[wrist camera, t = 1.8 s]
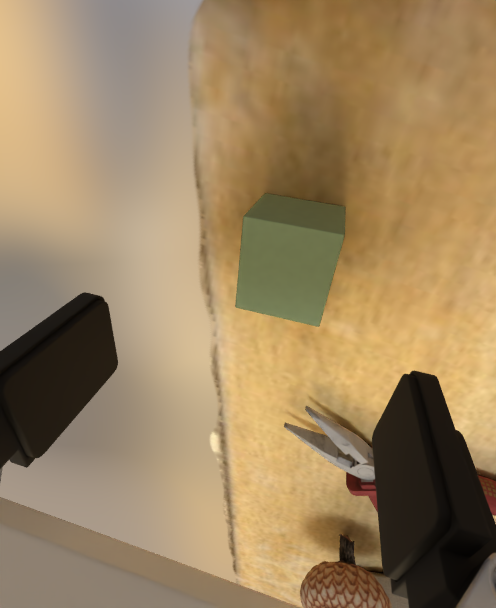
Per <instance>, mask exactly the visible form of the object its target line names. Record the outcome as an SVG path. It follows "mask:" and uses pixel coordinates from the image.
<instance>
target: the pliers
mask: <svg viewBox="0 0 496 608" xmlns="http://www.w3.org/2000/svg"><path fill="white" fill-rule="evenodd" d="M305 410H306V411H307V412H308V413H309V415H310V416H311V417H312V418H313V419H314V420H315V422H316V423H317V424H318V425H319V426H320V427H321V429H322V430H323V431H324V432H325V433H326V434H327V436H328V437H327V436H325V435H322V434H319V433H316V432H313V431H310V430H307V429H304V428H300V427H297V426H294V425H291V424H288V423H285V424H284V427H285V428H286V429H288V430H289V431H290V432H291V433H293V434H294V435H295V436H297V437H298V438H299V439H300V440H302V441H303V442H304V443H306V444H307V445H308V446H310V447H311V448H312V449H313V450H315V451H316V452H317V453H319V454H320V455H321V456H322V457H324V458H325V459H326V460H328V461H329V462H330V463H332V464H334V465H335V466H337V467H338V468H340V469H342V470H344V471H346V485H347V487H348V489H349V491H350V492H351V494H353V495H355V496H369V498H370V500H371V501H372V503H373V505H374V507H375V508H376V510H377V512H378V508H377V496H376V484H375V473H374V461H373V449H372V448H371V447H370V446H369V445H368V444H367V443H366V442H365V441H364V440H362V439H361V438H360V437H359V436H357V435H356V434H355V433H353V432H351V431H349V430H348V429H346V428H344V427H342V426H341V425H339V424H337V423H336V422H334V421H332V420H330V419H329V418H327V417H325V416H323V415H322V414H320V413H318V412H316V411H315V410H313V409H311V408H310V407H308V406H306V409H305ZM478 477H479V480H480V483H481V486H482V488H483V491H484V494H485V496H486V499H487V502H488V505H489V507H490V510H491V513H492V514H493V515H496V481H494V480H491V479H488V478H485V477H482V476H479V475H478Z"/></svg>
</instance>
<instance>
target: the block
mask: <svg viewBox="0 0 496 608" xmlns="http://www.w3.org/2000/svg"><path fill="white" fill-rule="evenodd" d="M345 209H346V208H345V206H339V205H333V204H327V203H321V202H315V201H309V200H303V199H297V198H291V197H285V196H280V195H274V194H268V193H265V194H264V195H263V196H262V197H261V198H260V199H259V200H258V201H257V202H256V203H255V205H254V206H253V207H252V208H251V209H250V210H249V211H248V212H247V213H246V214H245V215H244V217H243V227H242V238H241V249H240V260H239V271H238V283H237V294H236V305H235V307H236V308H240V309H244V310H249V311H253V312H257V313H262V314H266V315H270V316H274V317H279V318H283V319H287V320H291V321H296V322H300V323H304V324H309V325H313V326H317V327H319V326H320V322H321V319H322V315H323V311H324V308H325V304H326V301H327V297H328V293H329V290H330V286H331V283H332V279H333V276H334V272H335V268H336V265H337V261H338V258H339V254H340V250H341V247H342V243H343V240H344V236H345Z"/></svg>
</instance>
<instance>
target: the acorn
mask: <svg viewBox="0 0 496 608" xmlns="http://www.w3.org/2000/svg"><path fill="white" fill-rule="evenodd" d="M339 536H340V548H339V551H340V561H338V562H326V561H324V562H322V563H320V564H319V565H316V566H314V567H313V568H312V569H311V571H310V572H308V573H307V575H306V577H305V579H304V580H303V582H302V585H301V590H300V598H301V603H302V606H303V607H304V608H392V606H391V602H390V600H389V598H388V596H387V594H386V593H385V591H384V589H383V587H382V585H381V584H380V583H379V582H378V581H377V580H376V578H375V577H374V575H373V574H372V573H370V572H368V571H366V570H365V569H364V568H362V567H359V566H357V565H356V564H355V557H354V541H352V540H351V539H350V538H349V537H348V536H343V535H342V534H340V535H339Z"/></svg>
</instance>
